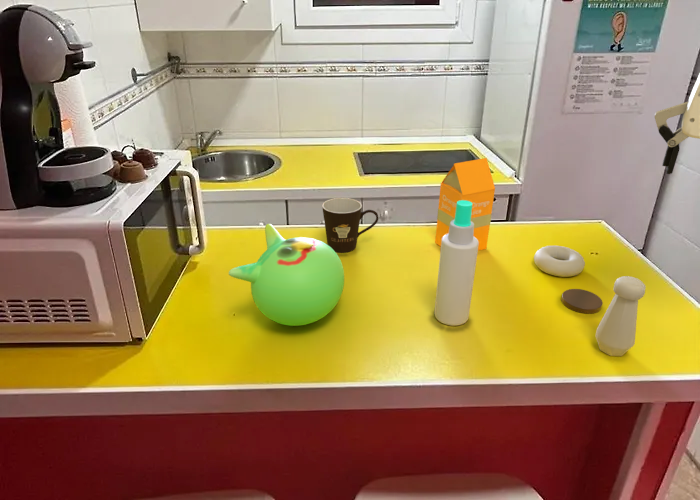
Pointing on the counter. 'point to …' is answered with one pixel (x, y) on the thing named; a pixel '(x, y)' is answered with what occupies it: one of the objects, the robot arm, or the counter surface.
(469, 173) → the orange juice
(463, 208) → the spray bottle
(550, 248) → the donut
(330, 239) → the coffee mug
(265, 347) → the counter surface
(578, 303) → the coaster
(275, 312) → the toy bird
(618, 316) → the salt shaker
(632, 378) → the counter surface
